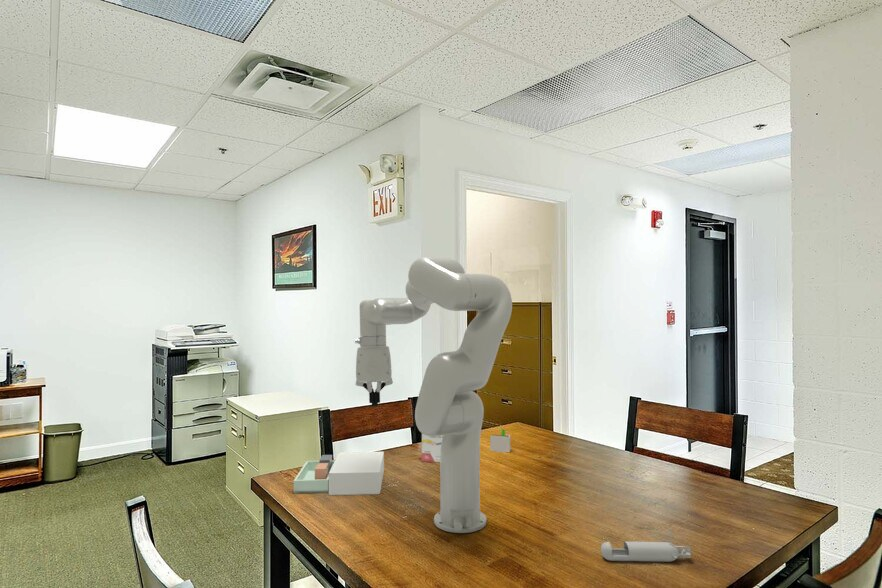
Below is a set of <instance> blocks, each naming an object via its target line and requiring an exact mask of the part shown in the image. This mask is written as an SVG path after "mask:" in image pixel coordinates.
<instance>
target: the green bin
mask: <svg viewBox="0 0 882 588" xmlns="http://www.w3.org/2000/svg"><path fill="white" fill-rule="evenodd" d="M335 460H336V459H333V460H332V466H333V464H334V462H335ZM318 463H319V460H307V461H305V463H304V464H303V466H302V467H301V469H300V470H299V472H298V473H297V474H296V477H295V478H294V479H293V494H323V493H324V494H326V493H328V494H329V475H328V477H327V479H317V480H315V468H316V466H317V464H318Z"/></svg>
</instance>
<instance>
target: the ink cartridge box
mask: <svg viewBox="0 0 882 588" xmlns="http://www.w3.org/2000/svg"><path fill="white" fill-rule="evenodd" d="M443 436H444V435H441V436H435V437H430V436H426V435H424V434H423V433H421V462H422V463H423V462H425V463H426V462H427V463H428V462H429V463H430V462H431V463H440V448H441V442H442V439H443Z"/></svg>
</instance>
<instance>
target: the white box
mask: <svg viewBox="0 0 882 588" xmlns="http://www.w3.org/2000/svg"><path fill="white" fill-rule="evenodd" d="M334 460H335V462H334V464H333V466H332V468H331V470H330V472H329V492H328V496H345V495H346V496H347V495H348V496H350V495H351V496H352V495H354V496H355V495H356V496H358V495H380V494H381V489H382V483H383V478H384V473H385V472H384V471H385V451H349V452H348V451H345V452H344V451H341V452H338V454H337V456H336V458H335V459H334Z"/></svg>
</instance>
